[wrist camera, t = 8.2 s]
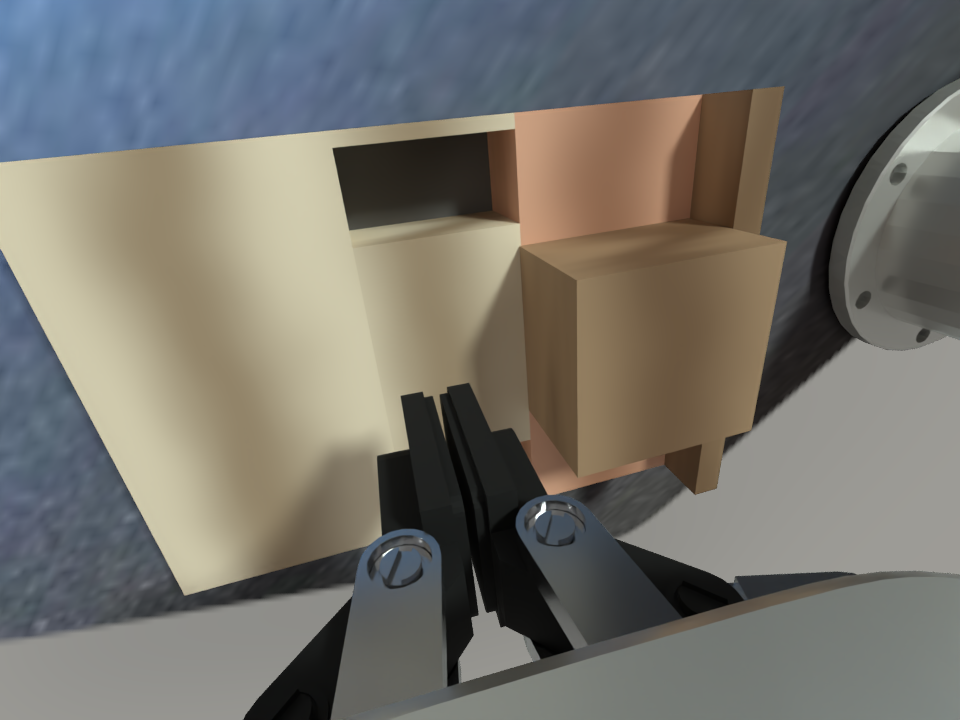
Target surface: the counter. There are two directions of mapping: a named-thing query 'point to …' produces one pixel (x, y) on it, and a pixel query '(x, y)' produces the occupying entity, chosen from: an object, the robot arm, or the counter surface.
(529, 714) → the robot arm
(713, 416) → the block
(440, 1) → the counter surface
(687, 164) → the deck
